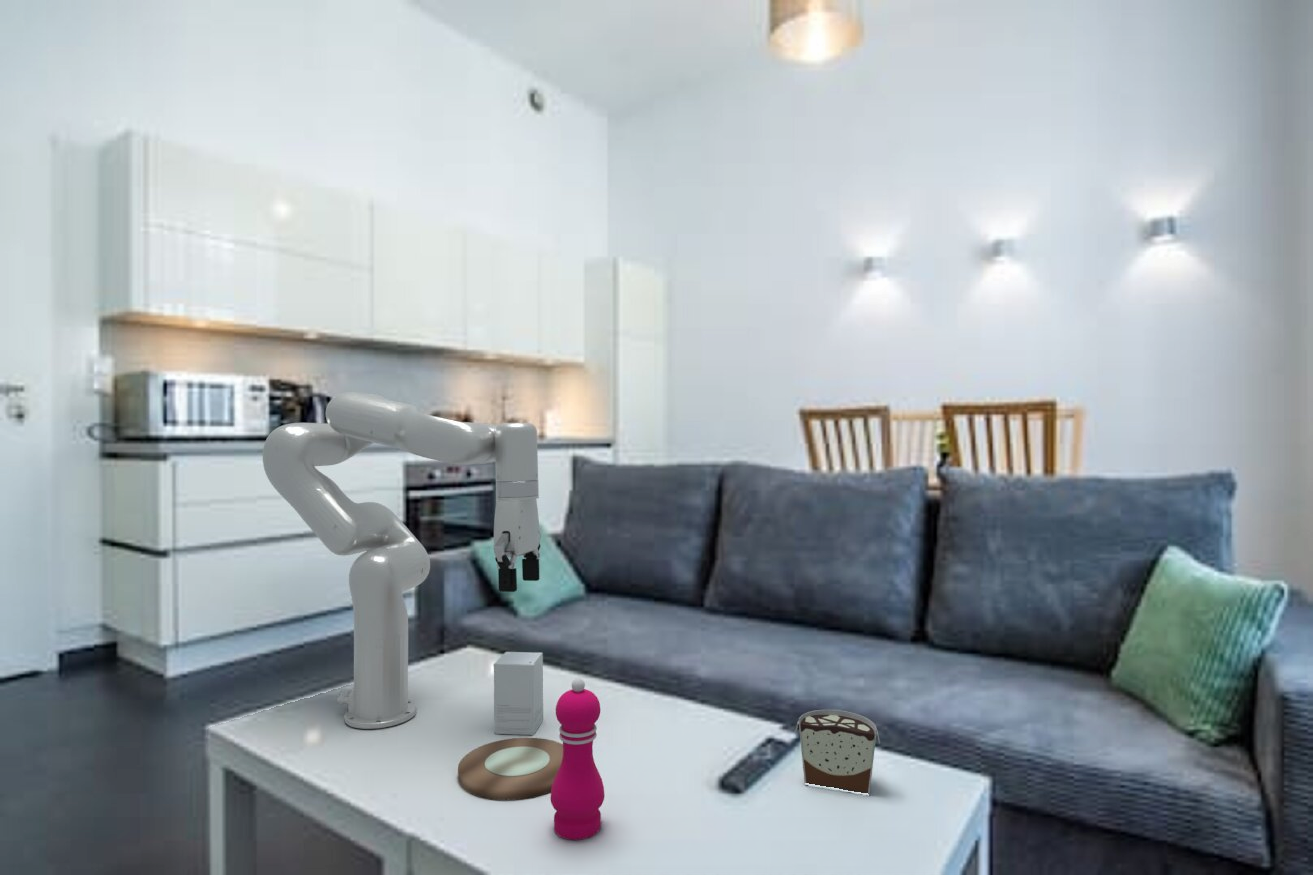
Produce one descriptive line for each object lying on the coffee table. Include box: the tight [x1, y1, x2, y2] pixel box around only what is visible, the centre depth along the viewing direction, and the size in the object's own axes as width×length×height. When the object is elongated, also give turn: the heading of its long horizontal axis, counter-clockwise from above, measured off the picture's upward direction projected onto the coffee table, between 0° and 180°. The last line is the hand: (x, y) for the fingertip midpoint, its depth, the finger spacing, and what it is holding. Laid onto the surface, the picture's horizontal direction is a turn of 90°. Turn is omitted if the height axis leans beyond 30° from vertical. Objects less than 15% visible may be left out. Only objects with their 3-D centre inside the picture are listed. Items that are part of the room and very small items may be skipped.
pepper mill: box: [550, 677, 605, 841], centre depth 96 cm, size 7×7×20 cm
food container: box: [795, 709, 881, 795], centre depth 109 cm, size 12×6×10 cm, turn 71°
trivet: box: [457, 737, 563, 801], centre depth 112 cm, size 18×18×2 cm
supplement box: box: [493, 651, 544, 736], centre depth 129 cm, size 7×7×13 cm
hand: (519, 585), depth 129 cm, fingers open, 9 cm apart
